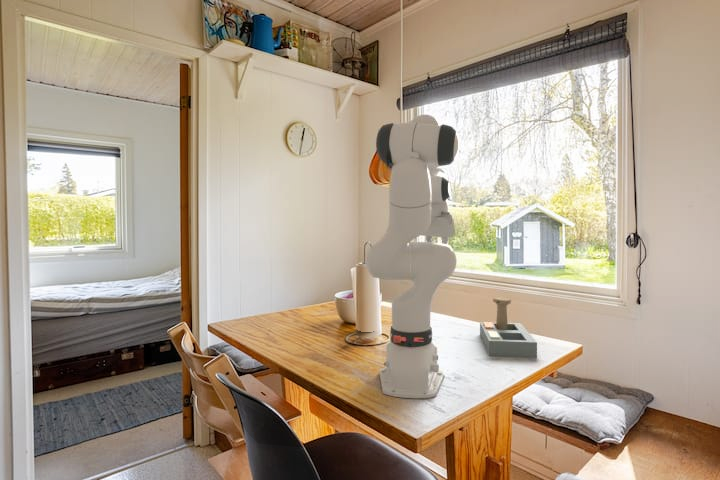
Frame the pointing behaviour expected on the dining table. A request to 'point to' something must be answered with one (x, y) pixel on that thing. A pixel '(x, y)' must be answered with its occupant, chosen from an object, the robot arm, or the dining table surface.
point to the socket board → (508, 340)
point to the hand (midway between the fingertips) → (436, 248)
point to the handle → (501, 312)
